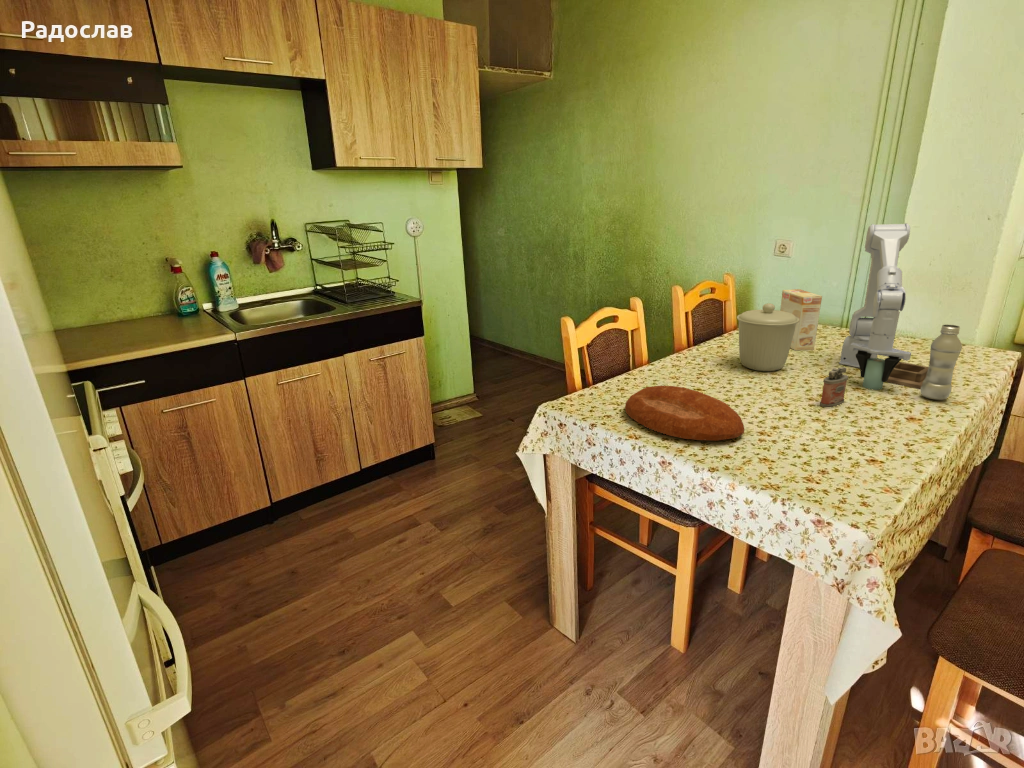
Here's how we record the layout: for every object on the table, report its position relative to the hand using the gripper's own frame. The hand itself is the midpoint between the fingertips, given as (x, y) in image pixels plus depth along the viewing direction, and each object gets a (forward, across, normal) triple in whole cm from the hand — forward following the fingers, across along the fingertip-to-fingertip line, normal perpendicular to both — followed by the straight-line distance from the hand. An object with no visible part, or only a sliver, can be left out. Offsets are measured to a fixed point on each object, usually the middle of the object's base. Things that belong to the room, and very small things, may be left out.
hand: (873, 378), depth 150 cm
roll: (+2, 0, 0) cm, 2 cm away
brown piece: (+2, +4, +14) cm, 15 cm away
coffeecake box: (+3, -36, +28) cm, 46 cm away
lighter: (+3, -2, -21) cm, 21 cm away
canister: (+3, -31, -4) cm, 31 cm away
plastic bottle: (+3, +14, +2) cm, 15 cm away
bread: (+3, -22, -60) cm, 64 cm away
